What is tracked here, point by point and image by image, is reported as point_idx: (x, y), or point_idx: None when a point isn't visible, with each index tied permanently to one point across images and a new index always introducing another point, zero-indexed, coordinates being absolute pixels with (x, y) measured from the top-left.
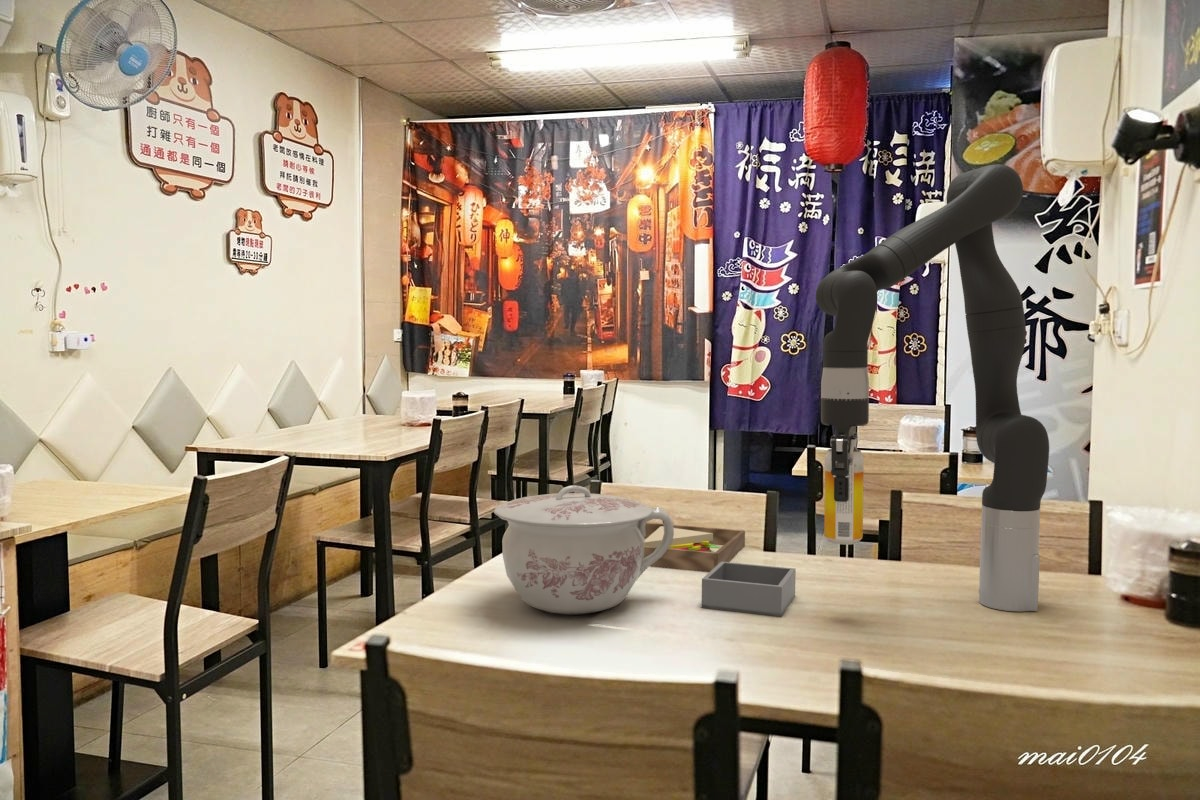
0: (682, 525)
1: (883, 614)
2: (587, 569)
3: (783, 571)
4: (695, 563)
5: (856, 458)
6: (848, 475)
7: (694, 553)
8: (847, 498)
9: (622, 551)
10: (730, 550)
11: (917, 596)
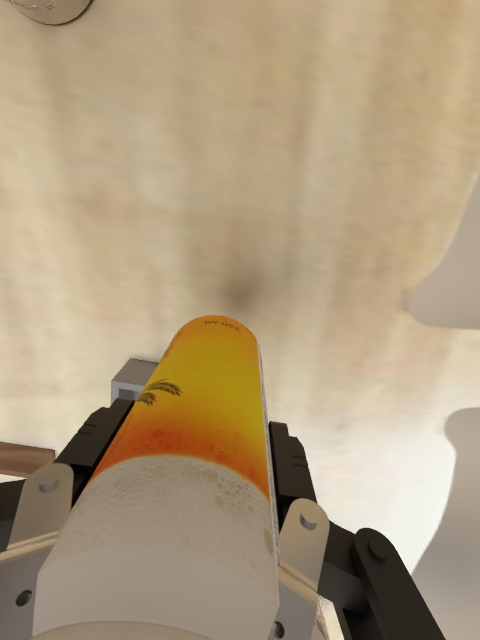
0: None
1: (188, 236)
2: (323, 617)
3: (120, 394)
4: None
5: (263, 597)
6: (327, 519)
7: None
8: (287, 429)
9: None
10: None
11: (52, 160)
